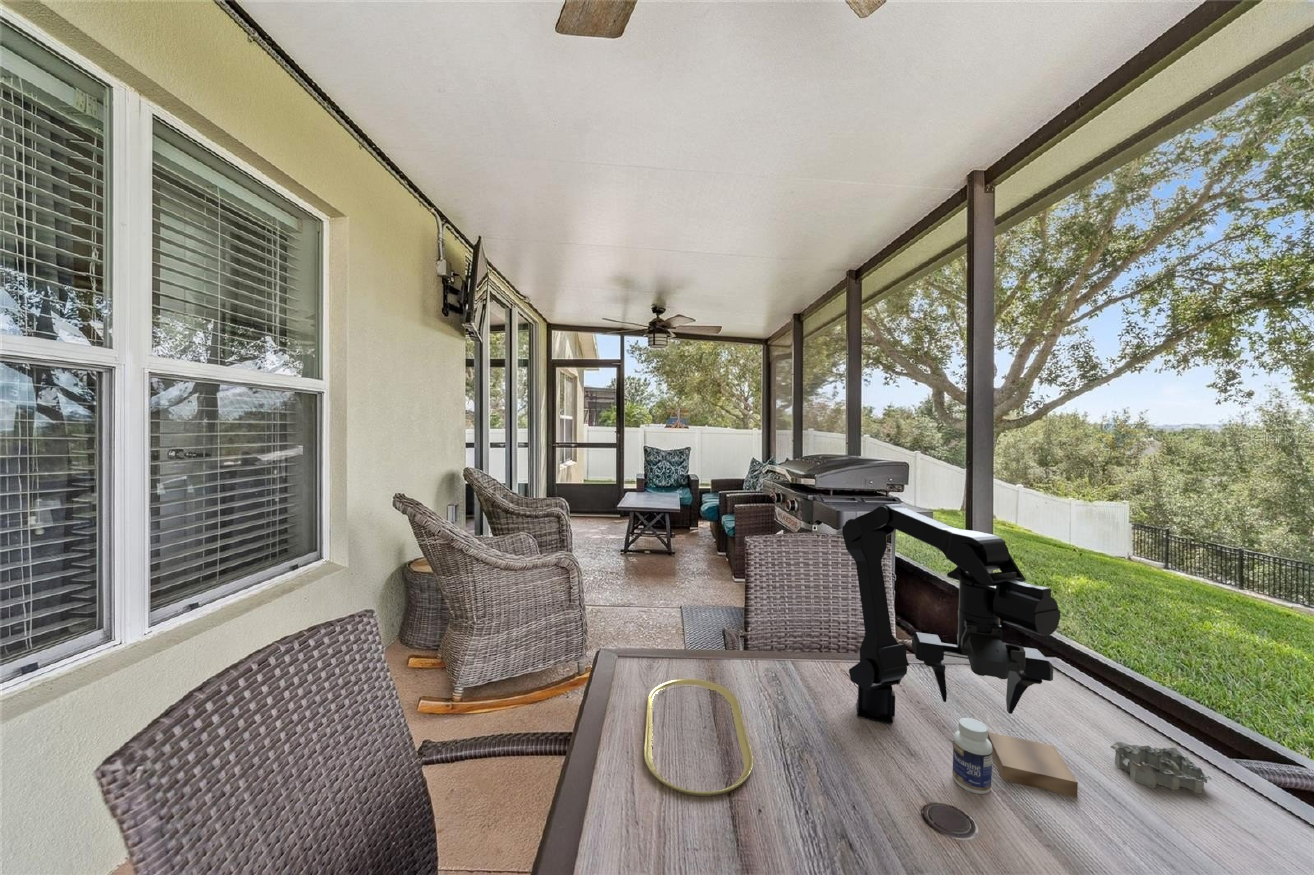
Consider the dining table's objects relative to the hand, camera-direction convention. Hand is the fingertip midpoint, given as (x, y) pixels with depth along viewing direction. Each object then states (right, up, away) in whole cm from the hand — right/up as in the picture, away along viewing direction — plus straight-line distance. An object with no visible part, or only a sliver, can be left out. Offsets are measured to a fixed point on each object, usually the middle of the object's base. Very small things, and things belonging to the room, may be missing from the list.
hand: (976, 706), depth 81 cm
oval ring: (-45, -12, +13) cm, 48 cm away
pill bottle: (-1, -13, 0) cm, 13 cm away
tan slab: (+11, -13, +4) cm, 17 cm away
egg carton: (+33, -14, +3) cm, 35 cm away
